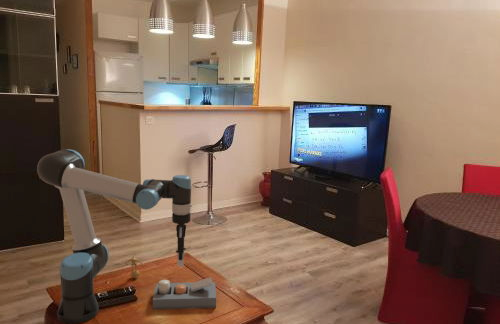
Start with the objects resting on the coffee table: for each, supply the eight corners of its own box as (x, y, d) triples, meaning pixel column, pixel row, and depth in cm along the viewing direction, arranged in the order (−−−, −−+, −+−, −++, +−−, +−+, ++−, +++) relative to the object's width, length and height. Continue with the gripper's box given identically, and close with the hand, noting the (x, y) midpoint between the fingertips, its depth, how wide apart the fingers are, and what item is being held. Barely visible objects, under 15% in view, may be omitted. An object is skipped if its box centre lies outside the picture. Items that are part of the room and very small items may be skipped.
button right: (174, 299, 169) (175, 289, 168) (175, 293, 173) (175, 284, 173) (185, 299, 170) (186, 289, 169) (186, 293, 174) (186, 284, 173)
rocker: (192, 293, 169) (190, 289, 168) (192, 286, 175) (191, 283, 174) (212, 286, 169) (211, 283, 169) (211, 280, 175) (210, 276, 175)
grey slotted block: (152, 309, 164) (152, 296, 163) (156, 292, 177) (156, 280, 176) (216, 307, 167) (216, 295, 166) (214, 291, 181) (215, 279, 180)
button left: (158, 294, 168) (158, 285, 167) (159, 289, 172) (159, 279, 171) (169, 294, 168) (169, 284, 167) (170, 289, 173) (170, 279, 172)
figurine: (144, 276, 192) (144, 252, 190) (141, 282, 187) (141, 257, 184) (127, 275, 192) (126, 252, 190) (124, 281, 186) (123, 257, 184)
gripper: (190, 217, 159) (189, 272, 163) (190, 208, 172) (189, 259, 176) (171, 217, 158) (170, 272, 162) (173, 207, 171) (172, 259, 175)
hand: (180, 265), depth 169 cm, fingers closed
